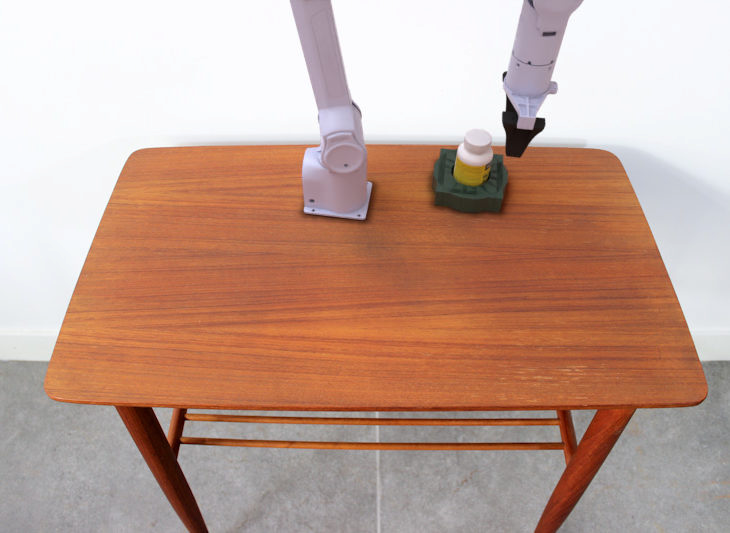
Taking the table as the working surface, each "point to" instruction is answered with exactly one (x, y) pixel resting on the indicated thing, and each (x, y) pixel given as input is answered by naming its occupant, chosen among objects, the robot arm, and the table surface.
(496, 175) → the holder
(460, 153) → the supplement bottle
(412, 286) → the table surface
